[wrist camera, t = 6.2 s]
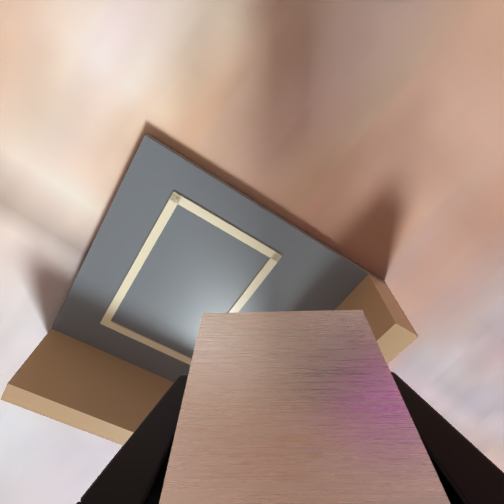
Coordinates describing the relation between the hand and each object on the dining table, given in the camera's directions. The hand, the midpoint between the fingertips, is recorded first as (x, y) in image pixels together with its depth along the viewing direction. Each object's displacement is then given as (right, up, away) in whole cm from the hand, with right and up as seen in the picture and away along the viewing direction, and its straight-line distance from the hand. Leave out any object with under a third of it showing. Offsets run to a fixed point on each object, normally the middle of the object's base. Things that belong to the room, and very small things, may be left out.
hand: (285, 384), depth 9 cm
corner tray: (-4, 0, +14) cm, 14 cm away
